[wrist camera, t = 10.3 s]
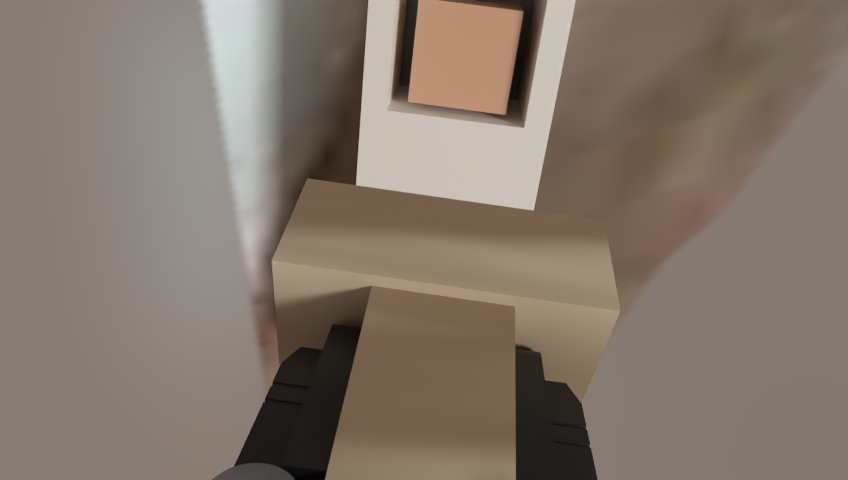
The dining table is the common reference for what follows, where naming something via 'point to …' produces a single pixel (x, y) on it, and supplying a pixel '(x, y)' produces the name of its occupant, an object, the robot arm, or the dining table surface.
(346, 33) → the dining table surface
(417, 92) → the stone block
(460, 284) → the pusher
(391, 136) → the sweep board
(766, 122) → the dining table surface
